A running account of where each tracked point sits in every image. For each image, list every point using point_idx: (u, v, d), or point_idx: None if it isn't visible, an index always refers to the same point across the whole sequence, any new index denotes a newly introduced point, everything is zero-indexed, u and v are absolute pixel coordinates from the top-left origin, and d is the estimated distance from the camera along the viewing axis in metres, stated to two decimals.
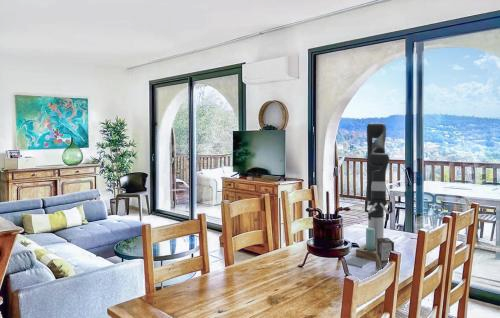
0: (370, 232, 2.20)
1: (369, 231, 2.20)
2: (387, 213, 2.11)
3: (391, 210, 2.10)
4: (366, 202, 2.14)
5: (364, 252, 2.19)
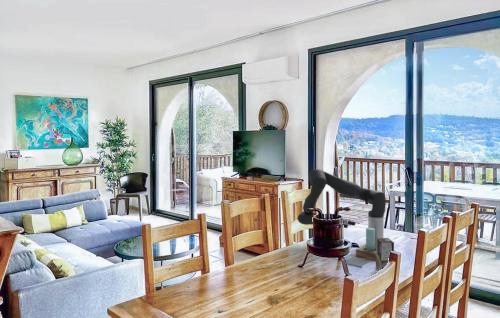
0: (370, 232, 2.20)
1: (369, 231, 2.20)
2: (349, 220, 2.36)
3: None
4: None
5: (364, 252, 2.19)
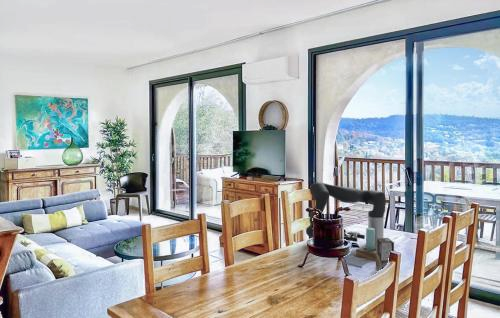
0: (370, 232, 2.20)
1: (369, 231, 2.20)
2: (358, 233, 2.32)
3: None
4: None
5: (364, 252, 2.19)
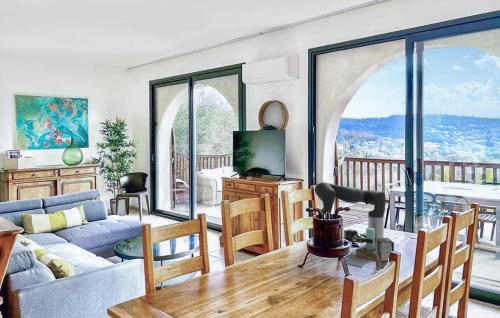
0: (370, 232, 2.20)
1: (369, 231, 2.20)
2: None
3: None
4: (354, 237, 2.23)
5: (364, 252, 2.19)
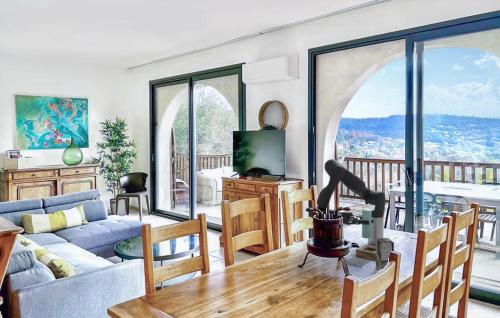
0: (366, 213, 2.17)
1: (365, 212, 2.17)
2: None
3: None
4: (350, 219, 2.19)
5: (364, 252, 2.19)
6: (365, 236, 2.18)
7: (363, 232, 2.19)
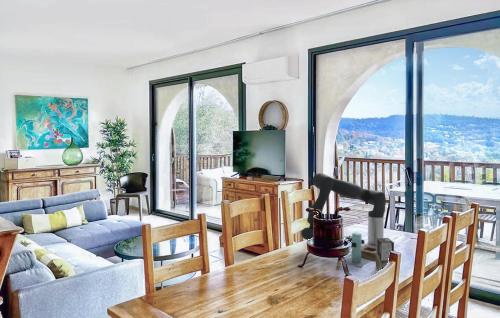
0: (356, 237, 2.09)
1: (355, 236, 2.10)
2: None
3: None
4: None
5: (364, 252, 2.19)
6: (355, 261, 2.10)
7: (353, 256, 2.11)
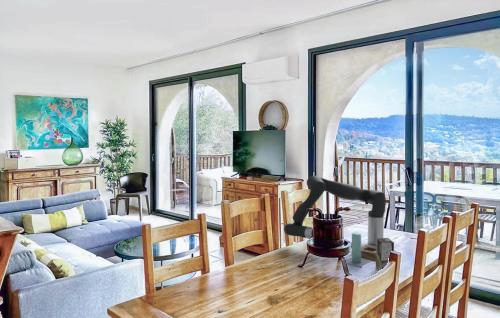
0: (356, 237, 2.09)
1: (355, 236, 2.09)
2: None
3: None
4: None
5: (364, 252, 2.19)
6: (355, 261, 2.10)
7: (353, 256, 2.11)
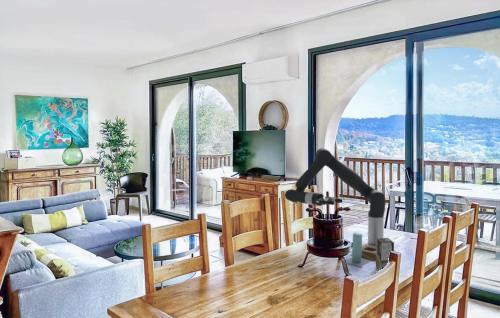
0: (357, 237, 2.09)
1: (356, 236, 2.09)
2: (336, 198, 2.33)
3: (335, 197, 2.35)
4: (317, 199, 2.29)
5: (364, 252, 2.19)
6: (355, 261, 2.10)
7: (353, 256, 2.11)
